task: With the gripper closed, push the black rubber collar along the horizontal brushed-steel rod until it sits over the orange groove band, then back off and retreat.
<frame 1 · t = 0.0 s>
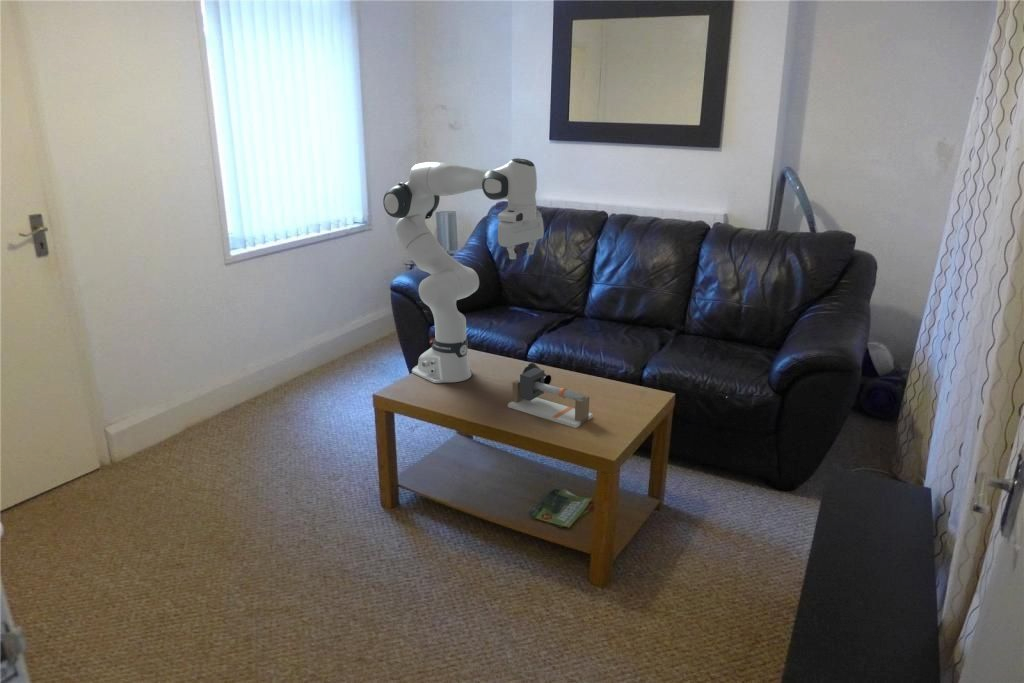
hand: (521, 256, 223), 48 cm above the table, fingers open, 8 cm apart
collar: (532, 384, 228), point 8 cm above the table, slide at 0.0 cm
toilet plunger: (527, 389, 245), on the table
rail: (549, 412, 226), on the table
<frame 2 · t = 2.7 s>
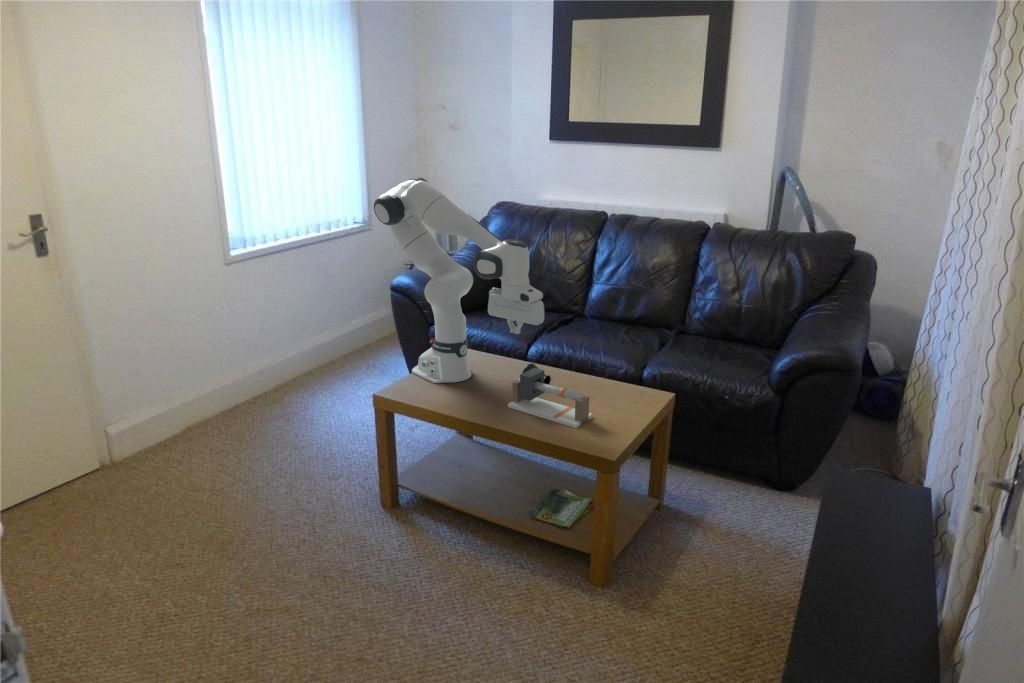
hand: (515, 333, 227), 24 cm above the table, fingers closed
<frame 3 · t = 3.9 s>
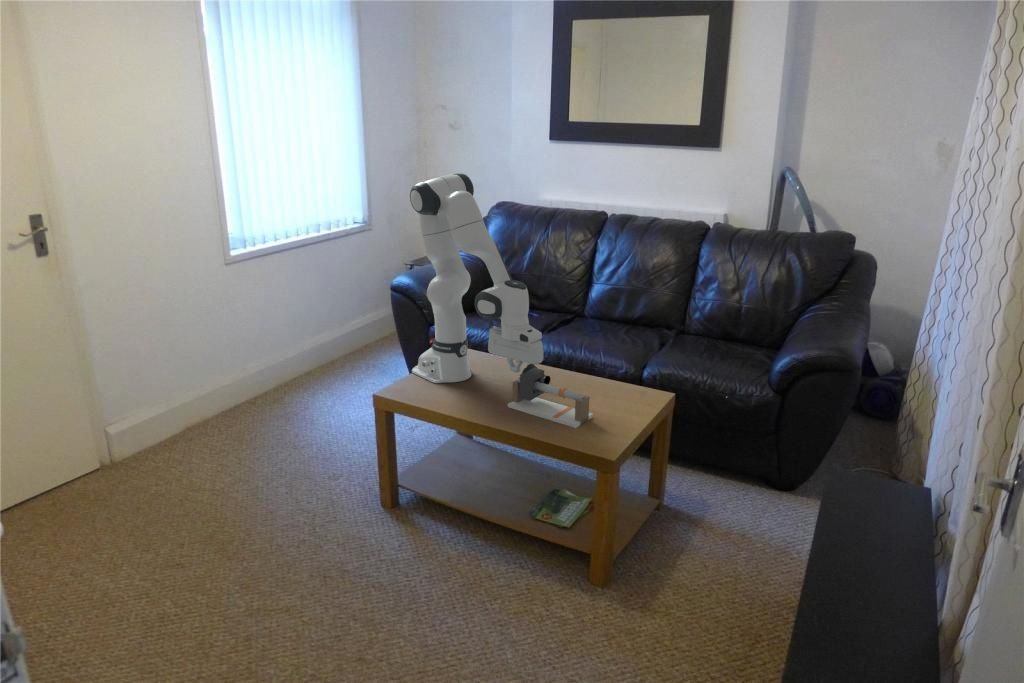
hand: (514, 371, 231), 11 cm above the table, fingers closed
nothing on the table moved.
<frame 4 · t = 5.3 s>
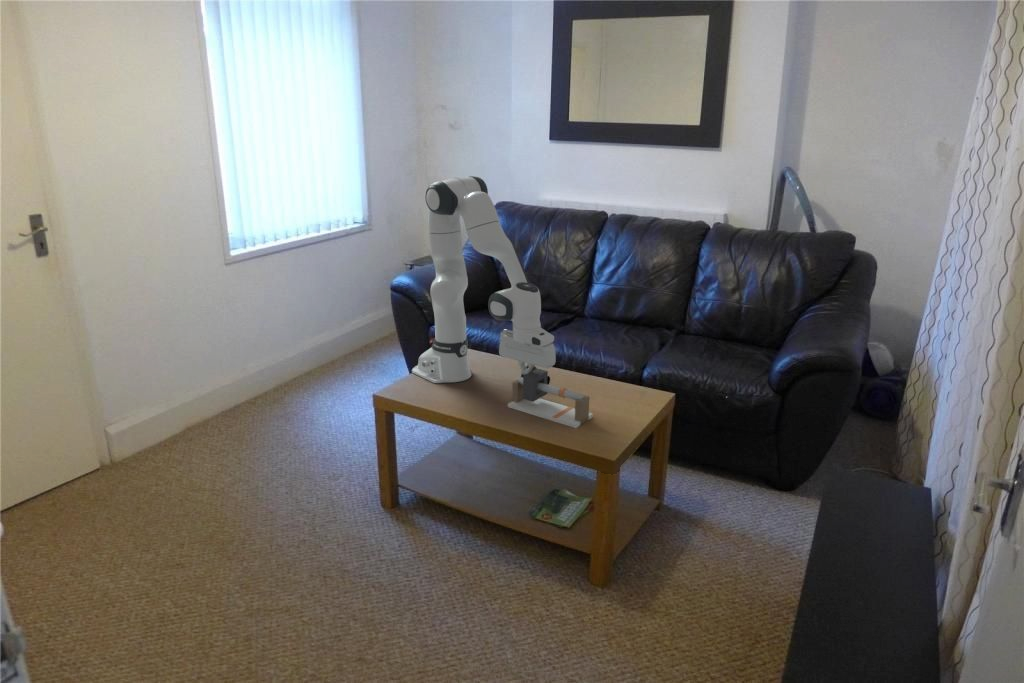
hand: (526, 374, 228), 11 cm above the table, fingers closed
collar: (535, 384, 227), point 8 cm above the table, slide at 1.3 cm, touching gripper
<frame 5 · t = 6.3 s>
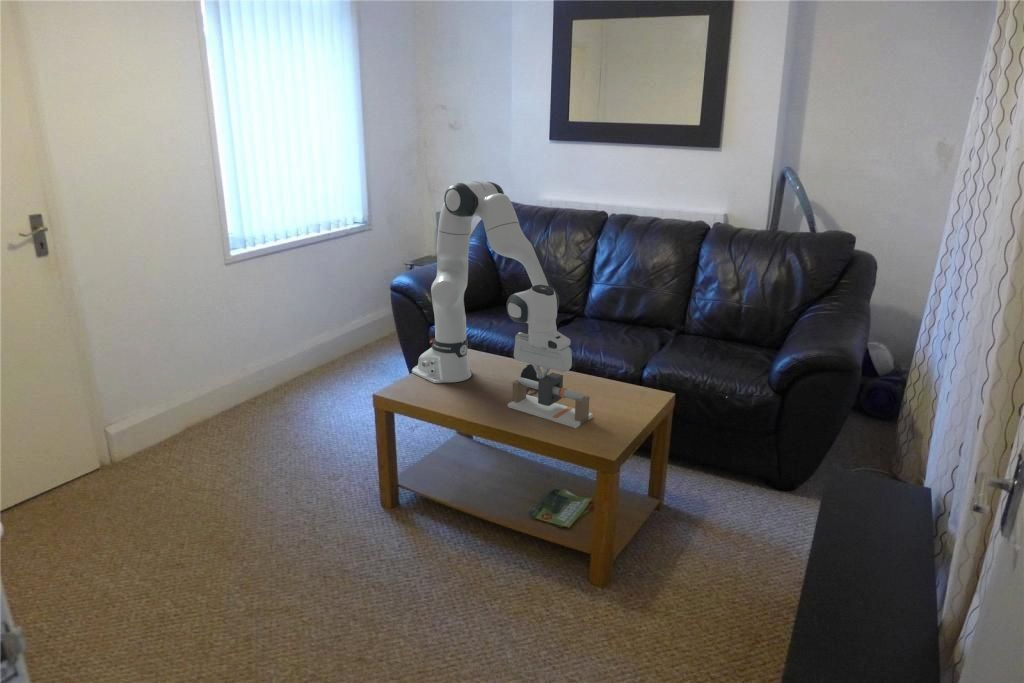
hand: (541, 378, 225), 11 cm above the table, fingers closed
collar: (550, 389, 224), point 8 cm above the table, slide at 7.2 cm, touching gripper
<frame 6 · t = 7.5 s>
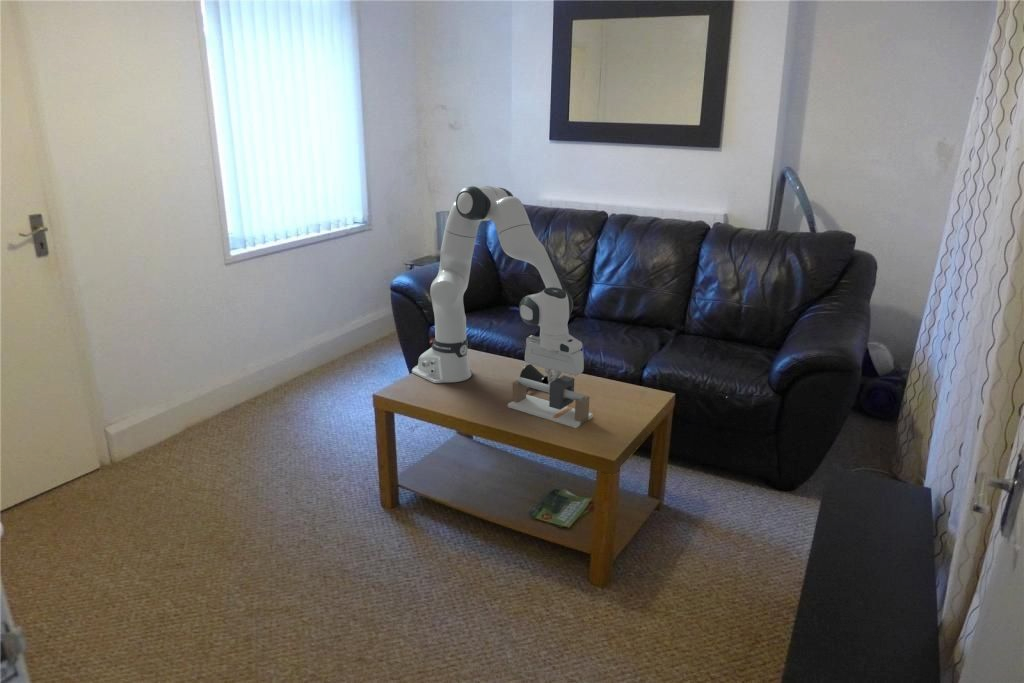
hand: (552, 381, 222), 11 cm above the table, fingers closed
collar: (561, 392, 221), point 8 cm above the table, slide at 11.4 cm, touching gripper
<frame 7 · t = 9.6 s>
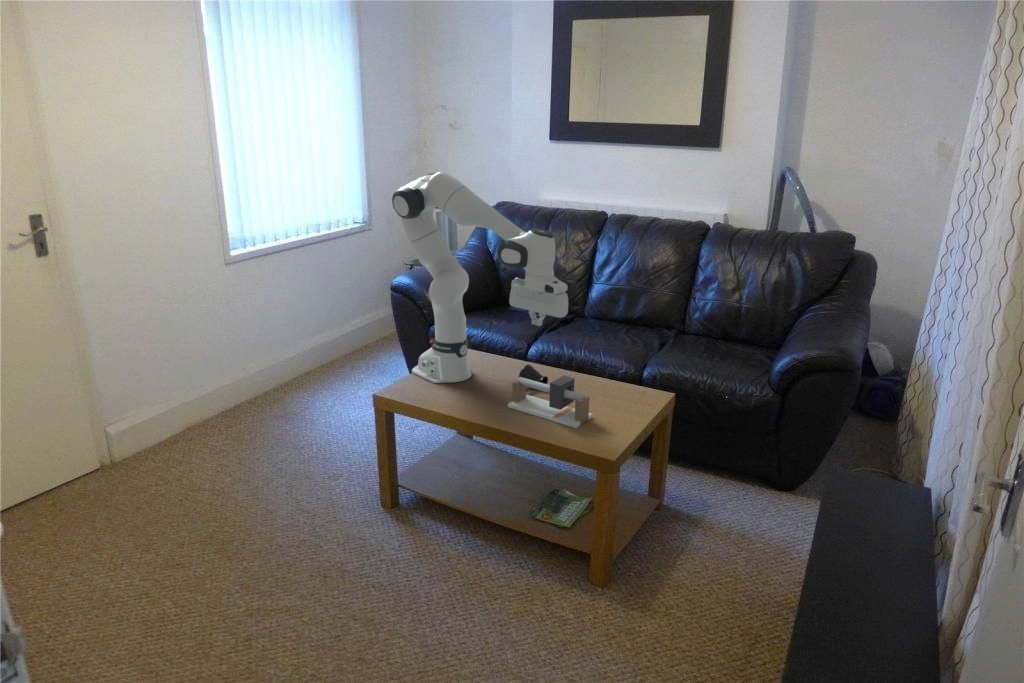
hand: (536, 325, 222), 28 cm above the table, fingers closed
collar: (562, 392, 221), point 8 cm above the table, slide at 11.5 cm
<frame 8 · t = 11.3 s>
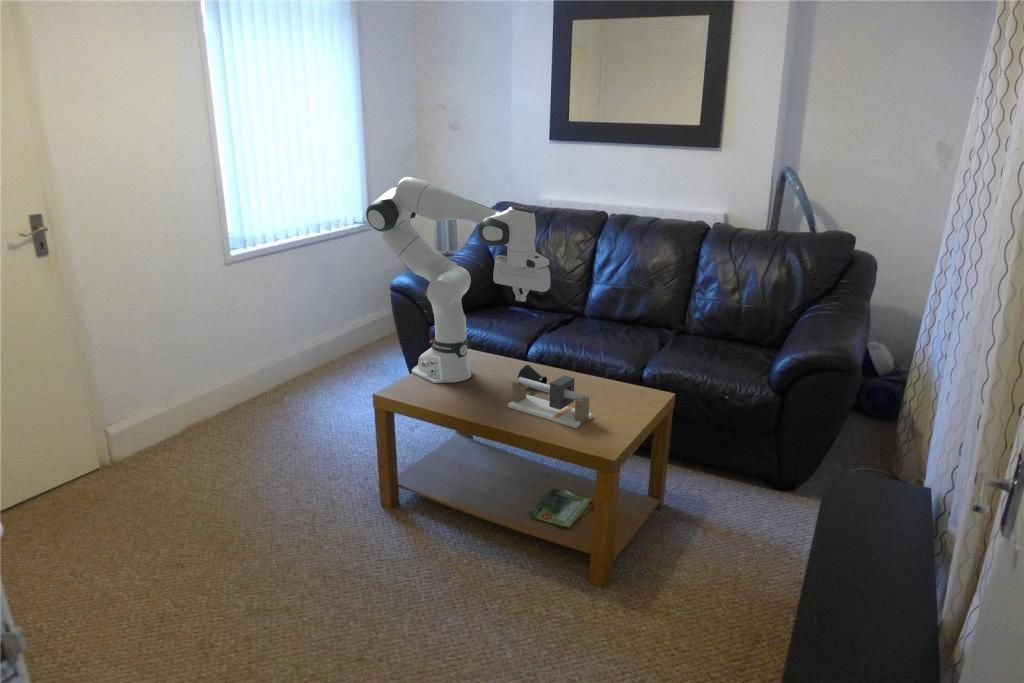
hand: (520, 300, 226), 34 cm above the table, fingers closed
at the end: collar slide at 11.5 cm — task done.
